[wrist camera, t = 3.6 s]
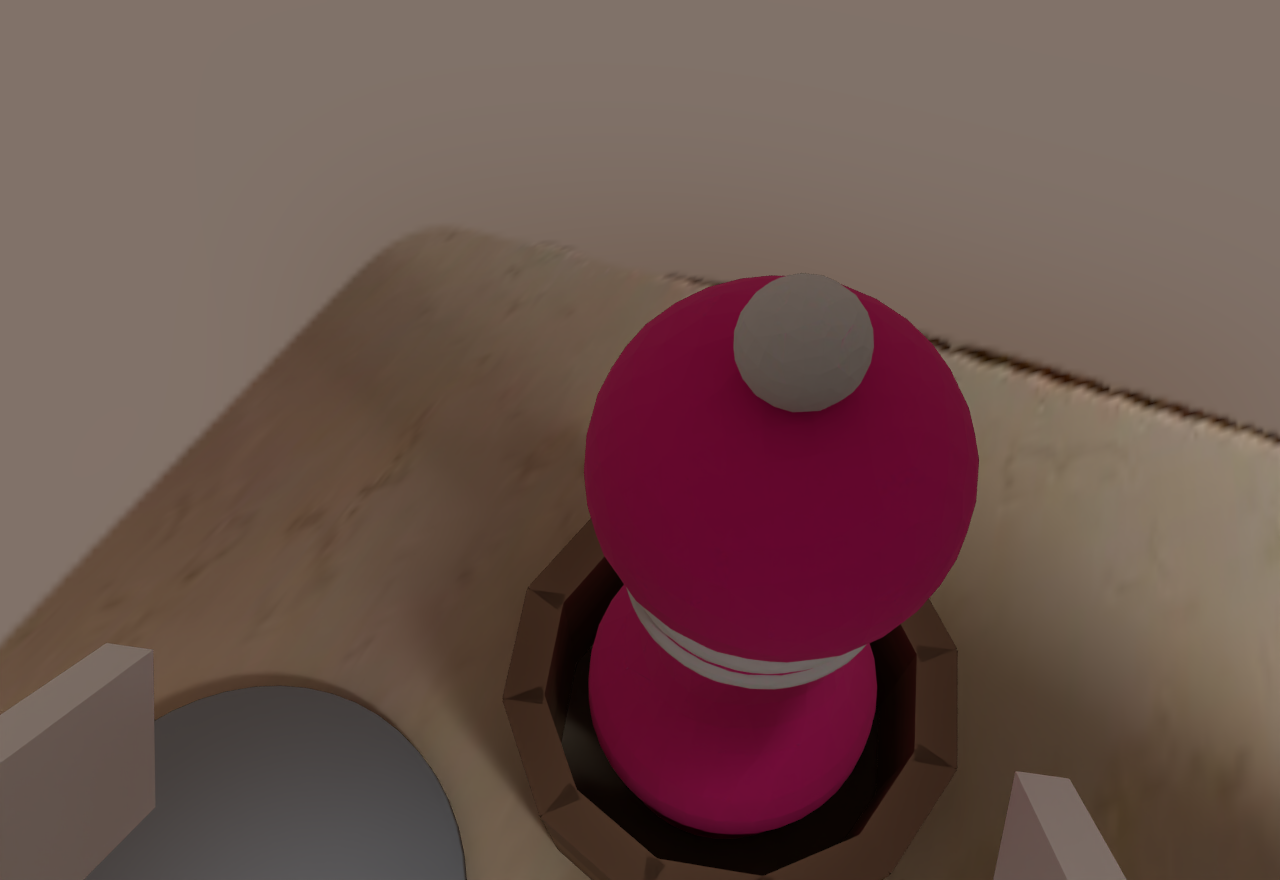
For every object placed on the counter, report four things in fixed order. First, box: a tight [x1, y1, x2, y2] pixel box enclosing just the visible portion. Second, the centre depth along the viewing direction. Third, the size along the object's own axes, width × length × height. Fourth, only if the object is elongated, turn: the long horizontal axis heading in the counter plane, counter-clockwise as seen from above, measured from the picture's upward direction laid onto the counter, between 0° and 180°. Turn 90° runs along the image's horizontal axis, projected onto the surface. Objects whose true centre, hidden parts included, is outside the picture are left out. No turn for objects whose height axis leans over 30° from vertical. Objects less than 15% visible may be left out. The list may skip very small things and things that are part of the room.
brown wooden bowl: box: [503, 519, 958, 880], centre depth 27 cm, size 11×11×5 cm
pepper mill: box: [584, 273, 979, 839], centre depth 21 cm, size 7×7×20 cm
